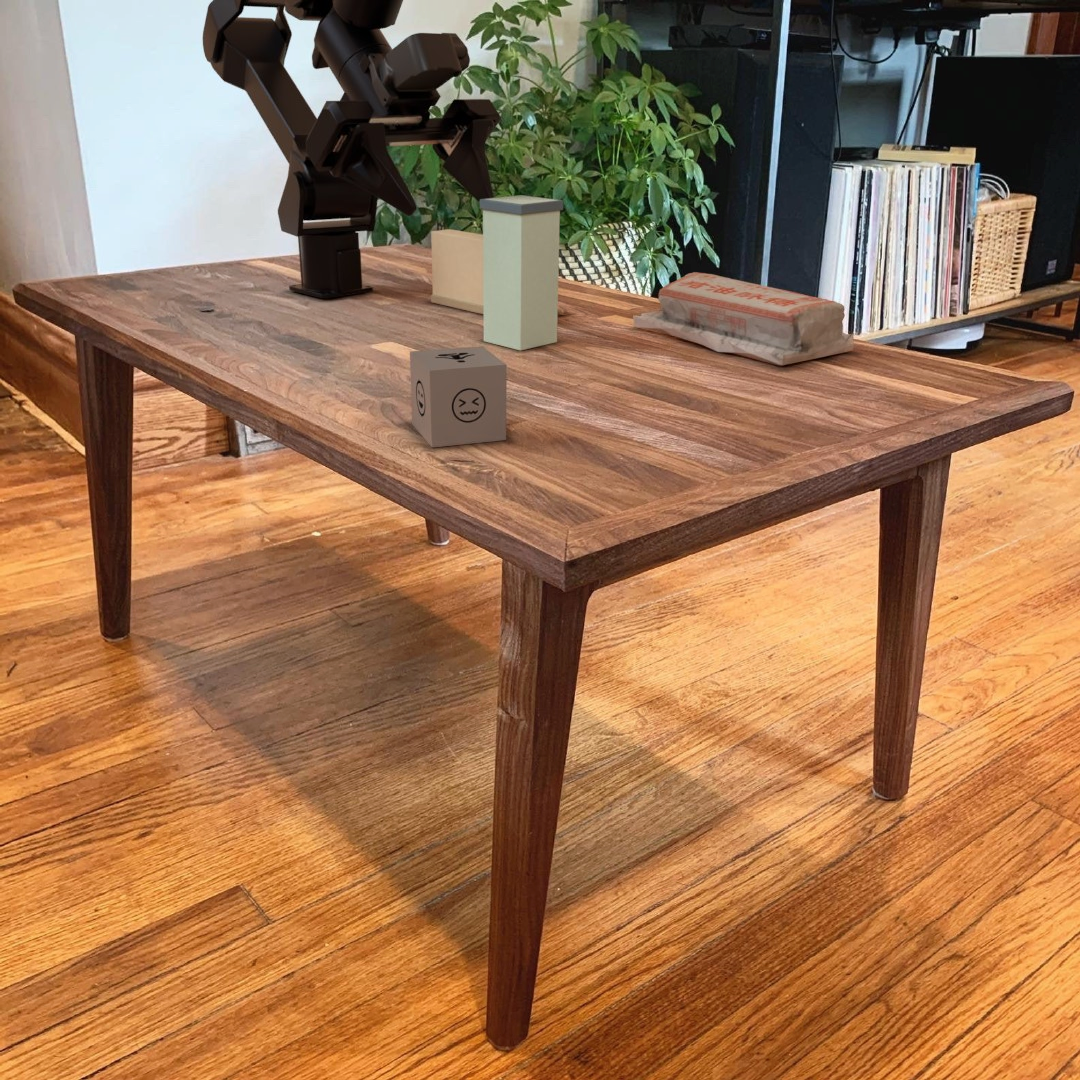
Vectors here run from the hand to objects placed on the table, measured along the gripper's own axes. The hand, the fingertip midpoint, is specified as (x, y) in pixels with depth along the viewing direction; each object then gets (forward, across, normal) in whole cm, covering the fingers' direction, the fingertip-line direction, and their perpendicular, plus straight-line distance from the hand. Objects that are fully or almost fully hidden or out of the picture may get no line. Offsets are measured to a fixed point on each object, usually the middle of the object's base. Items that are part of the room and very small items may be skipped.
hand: (453, 208), depth 94 cm
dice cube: (+24, -20, -8) cm, 32 cm away
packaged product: (+22, +16, -7) cm, 28 cm away
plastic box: (+13, +1, +2) cm, 13 cm away
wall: (+5, +8, +10) cm, 14 cm away
